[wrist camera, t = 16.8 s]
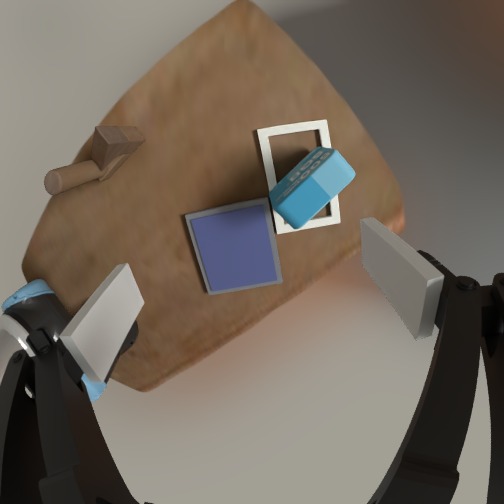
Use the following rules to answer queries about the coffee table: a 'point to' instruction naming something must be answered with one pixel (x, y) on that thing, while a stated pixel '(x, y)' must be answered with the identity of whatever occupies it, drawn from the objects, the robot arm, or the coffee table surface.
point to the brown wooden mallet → (96, 159)
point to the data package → (310, 186)
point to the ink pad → (235, 246)
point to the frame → (271, 177)
